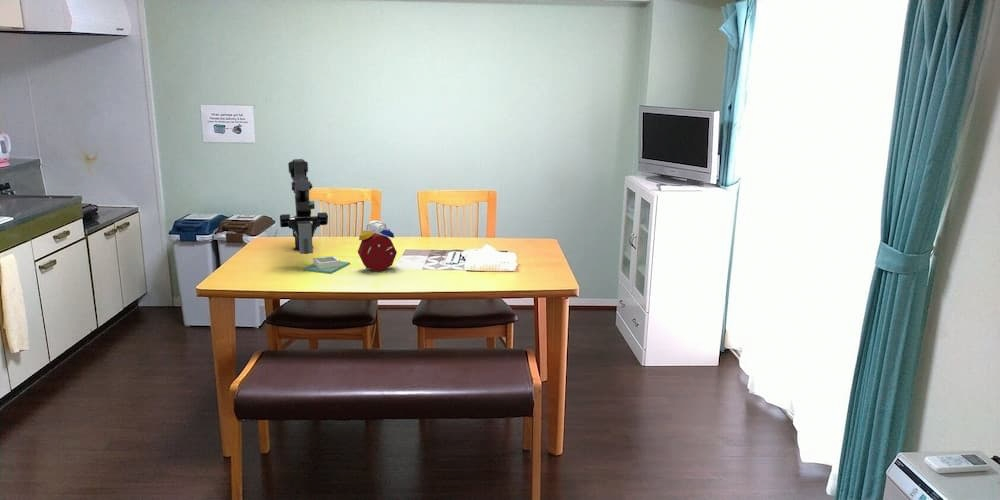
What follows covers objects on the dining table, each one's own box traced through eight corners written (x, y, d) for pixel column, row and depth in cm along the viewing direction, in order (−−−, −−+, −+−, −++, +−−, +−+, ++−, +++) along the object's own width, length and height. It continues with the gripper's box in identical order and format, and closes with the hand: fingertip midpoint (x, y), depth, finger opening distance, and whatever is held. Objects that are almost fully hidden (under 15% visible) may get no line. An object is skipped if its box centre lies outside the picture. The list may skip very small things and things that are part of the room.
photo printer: (368, 245, 333) (367, 219, 329) (376, 244, 335) (375, 218, 332) (379, 250, 325) (378, 223, 322) (387, 248, 328) (386, 222, 324)
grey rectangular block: (299, 251, 294) (297, 222, 291) (312, 250, 296) (310, 222, 293) (300, 254, 290) (298, 225, 287) (312, 253, 291) (311, 224, 288)
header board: (302, 270, 292) (302, 262, 291) (322, 261, 306) (322, 253, 305) (331, 273, 288) (330, 265, 288) (350, 264, 302) (349, 256, 301)
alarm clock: (393, 266, 300) (392, 219, 295) (398, 271, 292) (397, 223, 287) (358, 269, 295) (356, 221, 290) (362, 275, 287) (360, 225, 282)
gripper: (278, 194, 288) (280, 227, 281) (326, 192, 293) (329, 225, 286) (279, 210, 297) (281, 242, 290) (325, 208, 303) (329, 239, 295)
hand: (305, 237), depth 290 cm, fingers closed on grey rectangular block, 5 cm apart
